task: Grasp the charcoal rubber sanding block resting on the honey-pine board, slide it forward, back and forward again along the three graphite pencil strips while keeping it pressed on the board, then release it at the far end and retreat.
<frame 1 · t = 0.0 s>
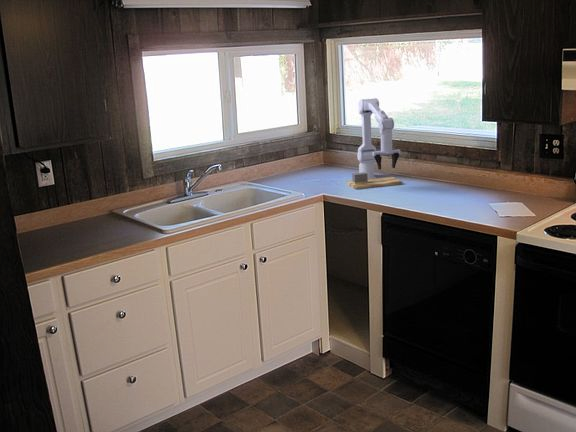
hand: (386, 168, 322), 10 cm above the counter, fingers open, 7 cm apart
board: (374, 184, 333), on the counter
sanding block: (360, 182, 331), point 2 cm above the counter, touching board
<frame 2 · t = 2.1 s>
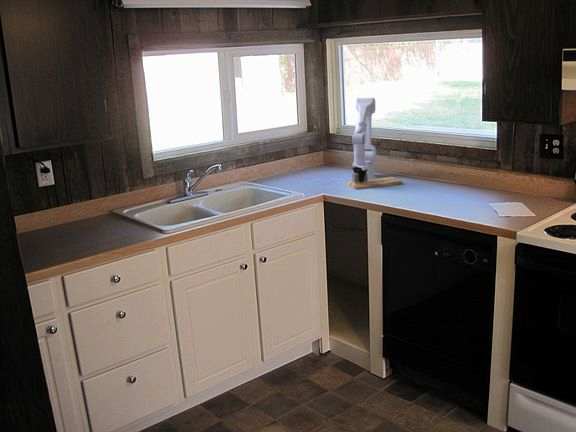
hand: (360, 181, 331), 2 cm above the counter, fingers closed on sanding block, 4 cm apart
sanding block: (360, 182, 331), point 2 cm above the counter, touching board, gripper
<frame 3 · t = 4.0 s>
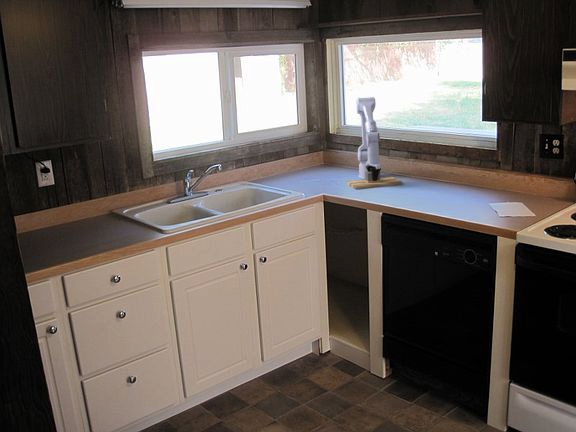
hand: (373, 180, 332), 2 cm above the counter, fingers closed on sanding block, 4 cm apart
sanding block: (372, 181, 333), point 2 cm above the counter, touching gripper
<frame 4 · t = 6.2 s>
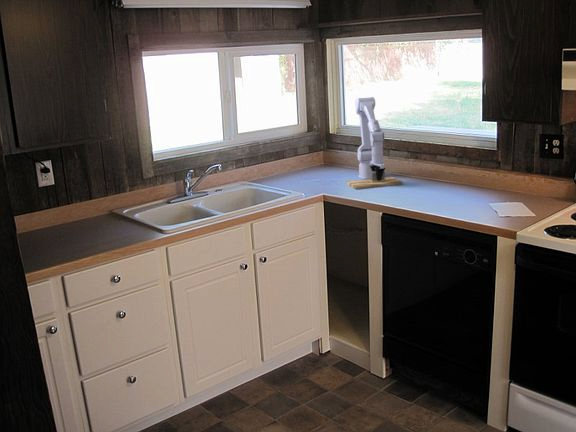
hand: (377, 179, 333), 2 cm above the counter, fingers closed on sanding block, 4 cm apart
sanding block: (377, 181, 333), point 2 cm above the counter, touching gripper
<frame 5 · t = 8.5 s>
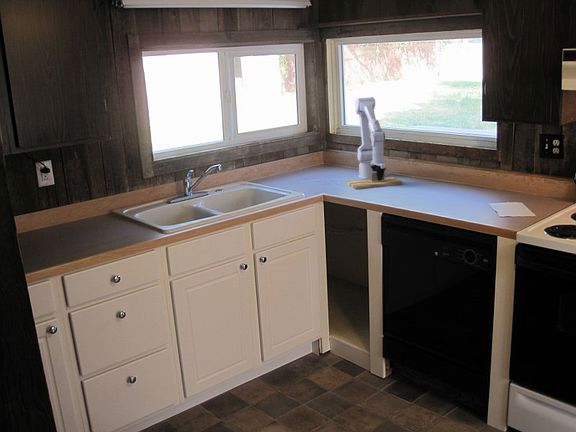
hand: (378, 179, 333), 2 cm above the counter, fingers closed on sanding block, 4 cm apart
sanding block: (376, 181, 333), point 2 cm above the counter, touching gripper
when the fingers open (2 cm above the counter, at t = 10.4 s): sanding block stays where it is, resting on board.
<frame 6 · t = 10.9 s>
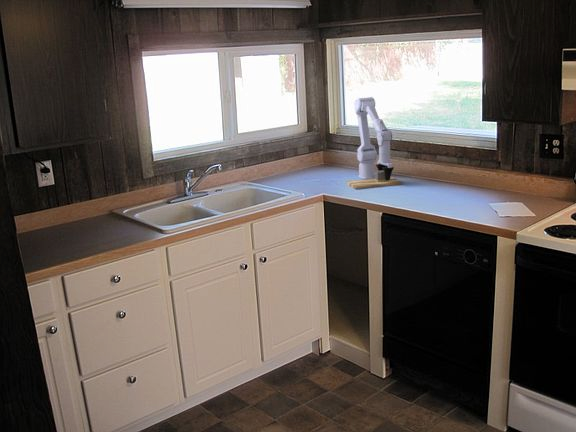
hand: (384, 178, 334), 2 cm above the counter, fingers open, 7 cm apart
sanding block: (382, 180, 334), point 2 cm above the counter, touching board
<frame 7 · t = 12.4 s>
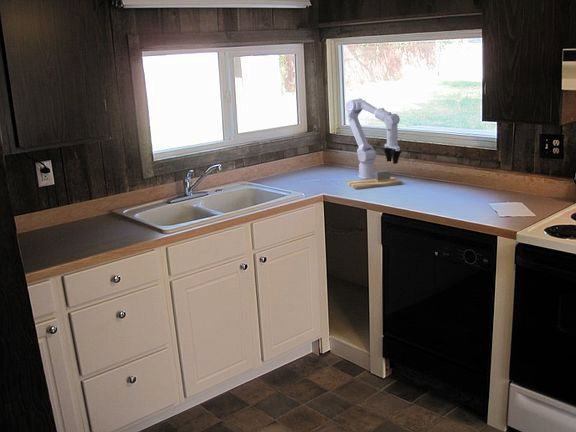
hand: (392, 162, 337), 10 cm above the counter, fingers open, 7 cm apart
nothing on the counter moved.
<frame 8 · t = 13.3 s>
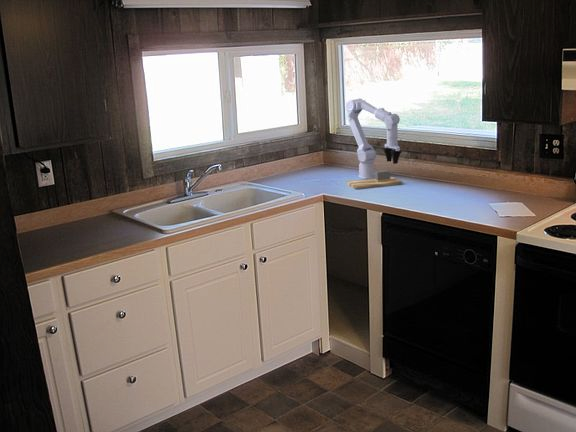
hand: (392, 162, 337), 10 cm above the counter, fingers open, 7 cm apart
nothing on the counter moved.
at the end: sanding block 1.3 cm from the target spot, point 1.5 cm above the counter; sanding block moved 12.7 cm from its start; the gripper is holding nothing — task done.
